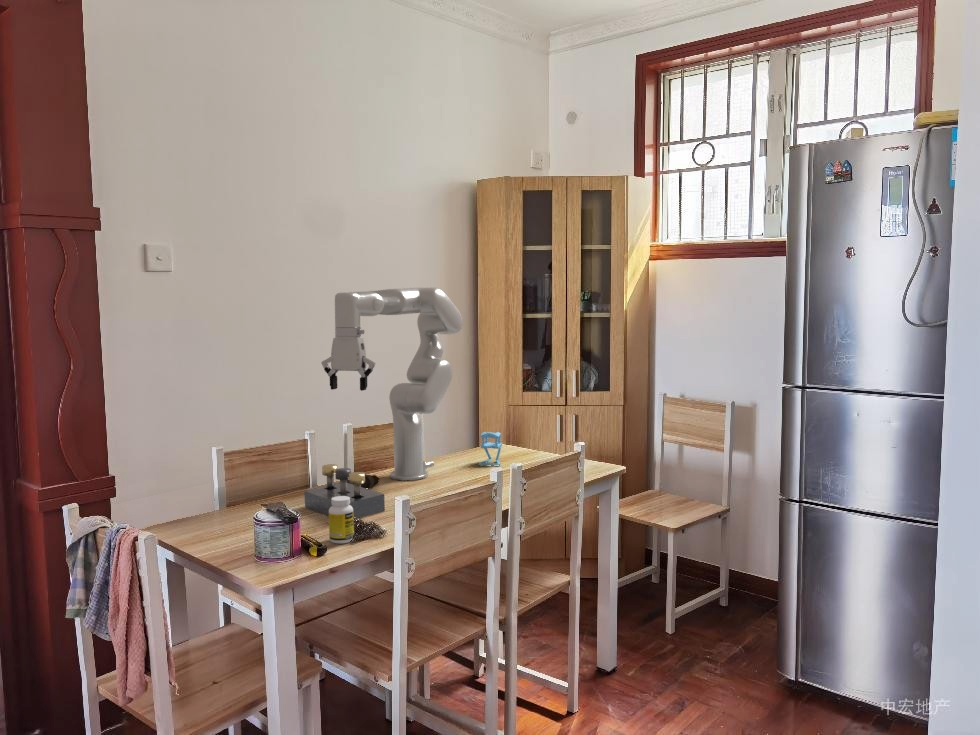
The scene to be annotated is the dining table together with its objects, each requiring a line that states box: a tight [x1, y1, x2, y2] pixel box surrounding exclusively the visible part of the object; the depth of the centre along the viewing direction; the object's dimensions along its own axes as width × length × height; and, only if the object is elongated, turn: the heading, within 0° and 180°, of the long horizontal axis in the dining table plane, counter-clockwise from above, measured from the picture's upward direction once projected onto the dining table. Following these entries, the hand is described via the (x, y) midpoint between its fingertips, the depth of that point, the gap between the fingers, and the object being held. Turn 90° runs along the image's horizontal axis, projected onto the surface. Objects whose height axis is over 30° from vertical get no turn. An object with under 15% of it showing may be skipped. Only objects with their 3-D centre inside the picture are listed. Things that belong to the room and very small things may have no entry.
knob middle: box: [334, 467, 352, 495], centre depth 230 cm, size 4×4×8 cm
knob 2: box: [348, 471, 366, 499], centre depth 225 cm, size 4×4×8 cm
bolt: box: [347, 474, 380, 490], centre depth 252 cm, size 6×5×15 cm
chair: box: [478, 431, 503, 468], centre depth 285 cm, size 8×8×12 cm
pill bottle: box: [328, 496, 355, 545], centre depth 202 cm, size 6×6×11 cm
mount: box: [304, 482, 385, 519], centre depth 230 cm, size 14×20×5 cm
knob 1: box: [321, 463, 338, 490], centre depth 235 cm, size 4×4×8 cm
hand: (348, 389), depth 242 cm, fingers open, 9 cm apart
